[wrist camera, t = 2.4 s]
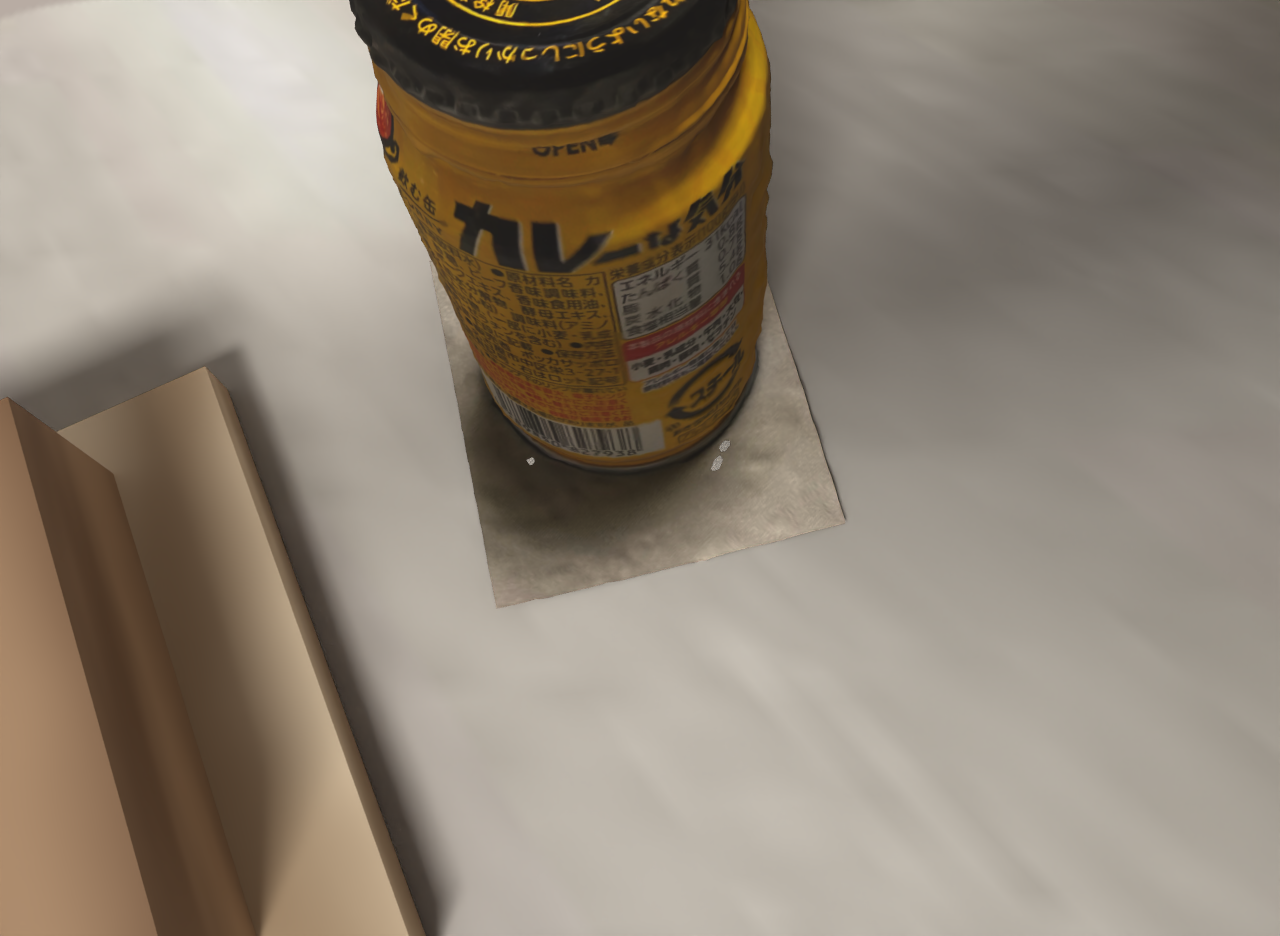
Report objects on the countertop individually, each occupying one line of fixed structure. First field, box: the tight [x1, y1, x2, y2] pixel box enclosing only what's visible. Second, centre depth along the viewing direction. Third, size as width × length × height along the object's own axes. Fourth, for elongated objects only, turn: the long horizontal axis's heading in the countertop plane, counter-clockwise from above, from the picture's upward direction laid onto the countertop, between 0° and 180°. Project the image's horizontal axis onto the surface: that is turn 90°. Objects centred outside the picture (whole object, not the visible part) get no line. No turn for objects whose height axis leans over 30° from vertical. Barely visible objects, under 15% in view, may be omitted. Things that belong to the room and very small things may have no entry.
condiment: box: [349, 0, 845, 608], centre depth 20 cm, size 7×8×12 cm
